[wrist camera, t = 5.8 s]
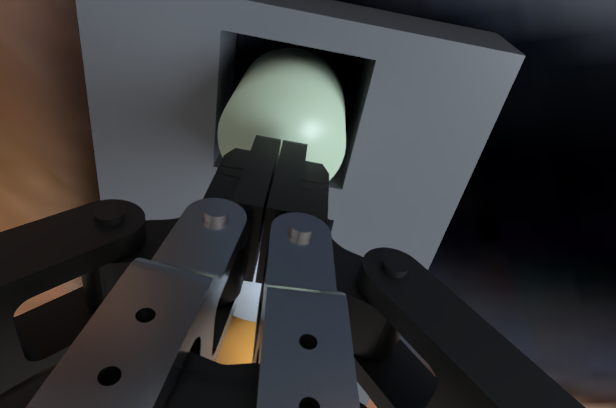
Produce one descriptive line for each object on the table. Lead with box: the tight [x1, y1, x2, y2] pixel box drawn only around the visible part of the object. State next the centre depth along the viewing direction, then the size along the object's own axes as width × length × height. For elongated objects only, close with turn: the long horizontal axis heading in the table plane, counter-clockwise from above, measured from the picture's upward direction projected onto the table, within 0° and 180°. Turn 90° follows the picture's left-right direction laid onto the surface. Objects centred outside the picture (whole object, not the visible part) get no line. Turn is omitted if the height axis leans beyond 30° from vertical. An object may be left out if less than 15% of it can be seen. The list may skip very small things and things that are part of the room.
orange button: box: [216, 315, 256, 365], centre depth 23 cm, size 4×4×4 cm
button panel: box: [75, 0, 525, 405], centre depth 20 cm, size 20×14×3 cm
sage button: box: [218, 48, 346, 181], centre depth 15 cm, size 4×4×4 cm
